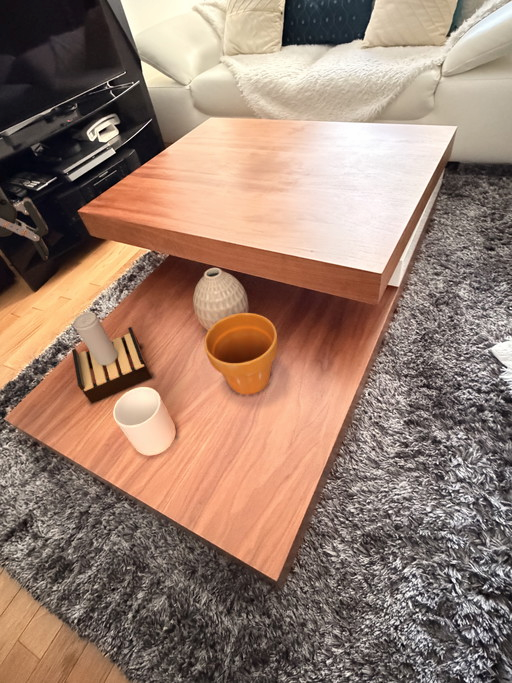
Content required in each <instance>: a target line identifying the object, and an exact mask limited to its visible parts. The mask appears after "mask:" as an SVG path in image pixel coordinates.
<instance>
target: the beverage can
mask: <svg viewBox="0 0 512 683" xmlns="http://www.w3.org/2000/svg"><path fill="white" fill-rule="evenodd" d="M73 325H74V329H75V330H76V332H77V333H78V335H79V336H80V338H81V339H82V341H83V343H84V344H85V347H86V348H87V349H88V351H90V352H91V354H92V355H93V357H94V358H95V360H96V361H97V363H98V364H100V365H103V366H106V365H109V364H112V363H113V362H114V361H115V362H116V360H118V358H117V355H118V353H117V350H116V349H115V347H114V345H113V343H112V342H113V341H112V340H111V338H110V336H109V335H108V333H107V331H106V330H105V327H104V326H103V324H102V322H101V321H100V318H99V317H98V315H96V313H94V312H92V311H87V312H83V313H81V314H79V315H77V316H76V318H74V320H73Z"/></svg>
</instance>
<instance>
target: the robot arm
mask: <svg viewBox="0 0 512 683" xmlns="http://www.w3.org/2000/svg"><path fill="white" fill-rule="evenodd" d="M18 212H21V213H22V214H24V215H25V216H30V218H31V220H32V221H33V223H34V224H35V226H36V228H33V227H31V226H30V225H27V224H26V222H24V221H21V220H19V219H17V216H18ZM13 233H15V234H17V235H19V236H21V237H25V238H27V239H29V240H31V241H32V243H33V245H34V247H35V249H36V250H37V253H38V254H39V255H40V257H41V259H42V260H43V261H47V260H48V258H49V257H48V256H49V255H50V253H49V249H48V247H47V245H46V244H45V242H44V240H43V237H44V236H45V235H47V234H48V233H49V228H48V225H47V223H46V221H45V219H44V218H43V217H42V215H41V214H40V212H39V210H38V209H37V206H36V205H35V203H34V202H33V201H32V199H31V198H30V197H28V196H27V197H23V199H22V200H21V201H18V202H16V203H12V202H11V201H10V200H9V199H8V198H7V196H6V194H5V193H4V191H3V188H1V187H0V238H4V237H9V236H11V235H12V234H13Z"/></svg>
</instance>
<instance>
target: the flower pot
mask: <svg viewBox="0 0 512 683" xmlns="http://www.w3.org/2000/svg"><path fill="white" fill-rule="evenodd" d="M203 346H204V350H205V354H206V356H207V358H208V361H209V362H210V363H209V364H211V366H212V368H214V370H216V371H217V372H219V373H220V374H221V375H222V377H224V380H225V381H226V382H227V383H228V385H229V386H230V388H231V389H232V390H233V391H234V392H236V393H238V394H240V395H245V396H246V395H248V396H249V395H254V394H258V393H259V392H261V391H263V390H264V389H265V388H266V387H267V386H268V384H269V381H270V376H271V371H272V365H273V362H274V360H275V358H276V357H277V353H278V347H279V346H278V332H277V328H276V327H275V325H274V323H273V322H272V321H271V320H270V319H268V318H267V317H265V316H263V315H261V314H258V313H252V312H248V313H239V314H234V315H230V316H228V317H225V318H223V319H221V320H220V321H218V322H217V323H215V324H214V325H213V326H212V327H211V328H210V329H209V331H208V330H207V332H206V334H205V337H204V342H203Z"/></svg>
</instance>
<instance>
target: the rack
mask: <svg viewBox="0 0 512 683" xmlns="http://www.w3.org/2000/svg"><path fill="white" fill-rule="evenodd" d="M132 327H133V326H129V327H127V329H128V332H129V333H126V334H123V337H122V336H119V337H116V338H113V339H112V340H111V342H112V343H113V345H114V347H115V349H116V350H117V353H118V355H117V360H118V361H117V362H118V364H119V367H120V371H121V372H119V370H118V366H117V363H116V360H115V361H114V362H113V363H112V364H109V365H105V367H106V370H107V374H108V377H107V376H106V373H105V368H104V365H100V364H98V363H97V361H96V360H95V358H94V357H93V355H92V354H91V352H90V351H89V350H88V351H86V350H83V351H80V352H78V350H77V349H76V348H73V349H71V353H72V358H73V364H74V369H75V375H76V381H77V387H78V388H79V389H80V390H81V391H82V393H83V395H85V397H86V398H87V400H88V401H89V402H90V404H91V405H93V404H95V403H97V402H101V401H102V400H104V399H107V398H109V397H111V396H114V395H116V394H118V393H120V392H123V391H125V390H127V389H128V390H129V389H130V388H132V387H135V386H137V385H139V384H141V383H144V382H146V381H149V380H151V379H153V375H152V373H151V371H150V369H149V367H148V364H146V362H145V359H144V356H143V353H142V351H141V349H142V345H141V344H140V342H139V340H138V338H137V335H136V333H135V331H134V330H133V328H132ZM128 355H130V359H131V362H132V364H133V367H131V364H130V361H129V357H128ZM91 370H93V375H94V380H95V383H94V380H93V376H92V372H91Z"/></svg>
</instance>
